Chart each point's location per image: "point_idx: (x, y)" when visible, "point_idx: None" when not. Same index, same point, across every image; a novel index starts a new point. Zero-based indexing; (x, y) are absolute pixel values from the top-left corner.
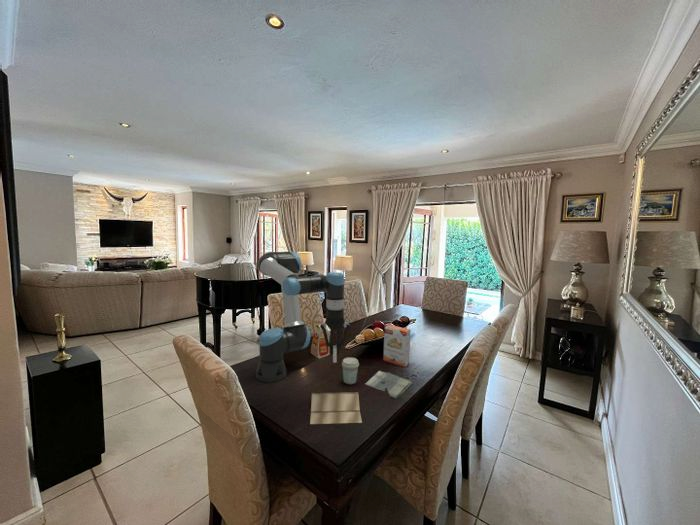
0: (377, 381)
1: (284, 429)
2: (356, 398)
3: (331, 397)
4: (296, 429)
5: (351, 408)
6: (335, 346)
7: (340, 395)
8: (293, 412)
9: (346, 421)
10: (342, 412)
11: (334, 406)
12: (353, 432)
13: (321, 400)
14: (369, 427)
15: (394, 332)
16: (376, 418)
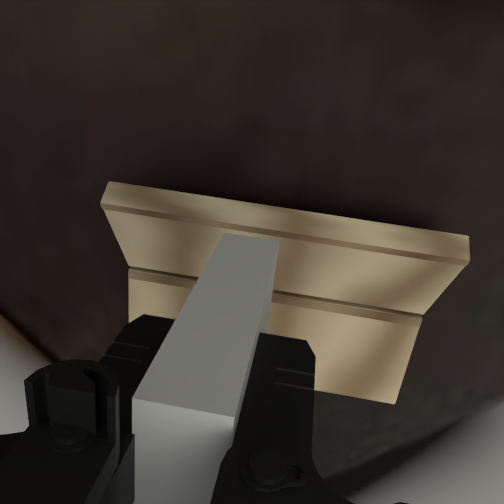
0: None
1: (21, 328)
2: (433, 280)
3: None
4: (75, 340)
5: (375, 300)
6: (201, 453)
7: (318, 248)
8: (37, 214)
9: (315, 380)
10: (311, 310)
11: None
12: (336, 413)
13: (180, 244)
14: (427, 404)
15: None
16: (500, 357)
